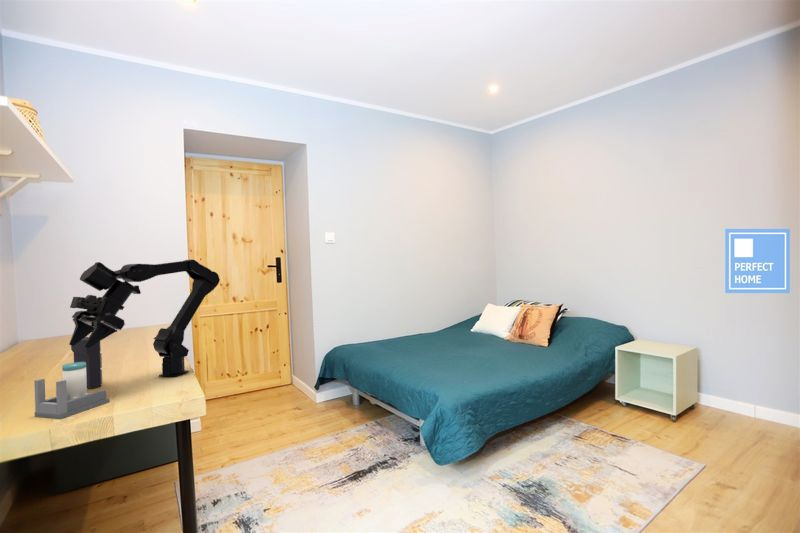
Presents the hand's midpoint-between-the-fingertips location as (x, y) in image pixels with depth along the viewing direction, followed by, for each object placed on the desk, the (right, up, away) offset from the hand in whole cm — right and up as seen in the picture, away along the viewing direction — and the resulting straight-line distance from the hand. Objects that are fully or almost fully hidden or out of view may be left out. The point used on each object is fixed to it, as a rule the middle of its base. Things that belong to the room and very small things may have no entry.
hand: (78, 346), depth 111 cm
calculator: (-8, -15, +13) cm, 21 cm away
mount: (+6, -15, -8) cm, 17 cm away
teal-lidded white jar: (+6, -13, -8) cm, 17 cm away
